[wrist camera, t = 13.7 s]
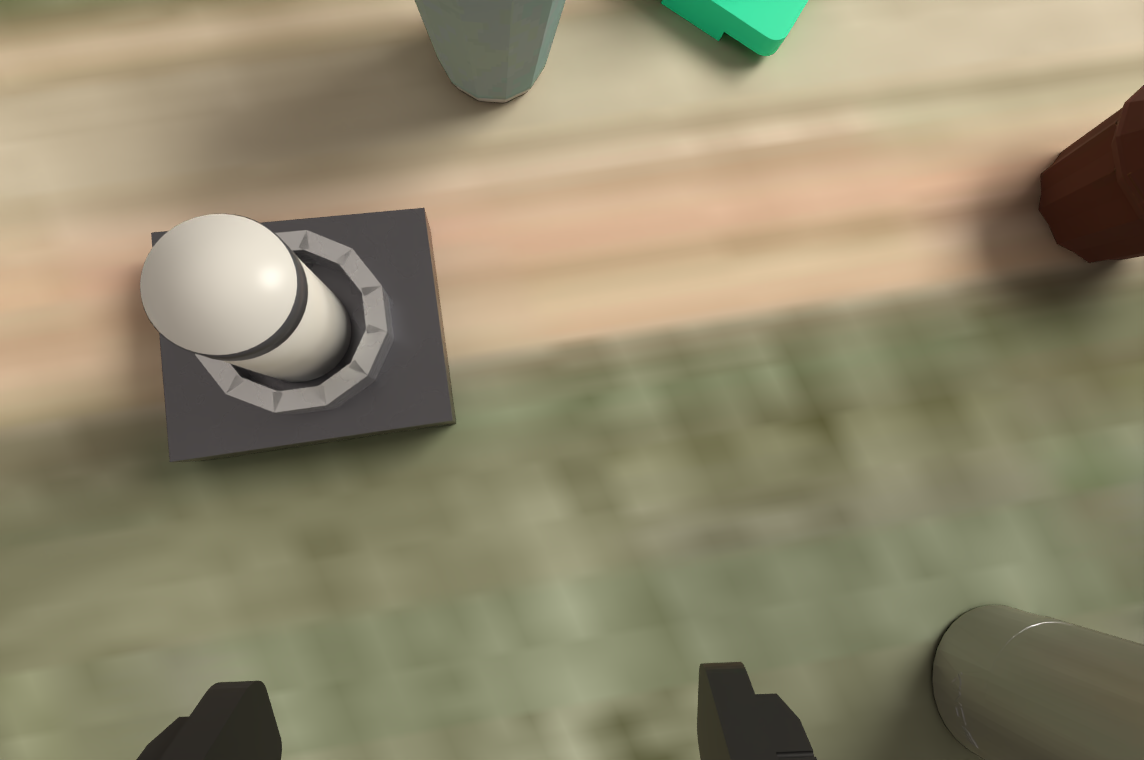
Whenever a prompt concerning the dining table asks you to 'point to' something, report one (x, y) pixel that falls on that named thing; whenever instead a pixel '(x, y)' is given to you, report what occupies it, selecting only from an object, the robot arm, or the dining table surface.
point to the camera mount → (742, 19)
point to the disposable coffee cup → (492, 43)
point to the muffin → (1100, 188)
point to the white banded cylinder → (243, 299)
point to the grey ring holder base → (363, 376)
